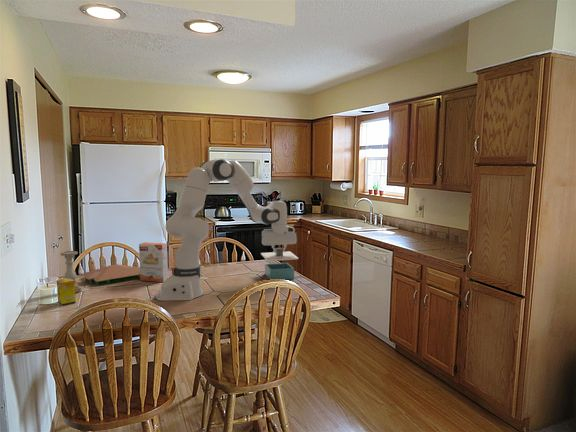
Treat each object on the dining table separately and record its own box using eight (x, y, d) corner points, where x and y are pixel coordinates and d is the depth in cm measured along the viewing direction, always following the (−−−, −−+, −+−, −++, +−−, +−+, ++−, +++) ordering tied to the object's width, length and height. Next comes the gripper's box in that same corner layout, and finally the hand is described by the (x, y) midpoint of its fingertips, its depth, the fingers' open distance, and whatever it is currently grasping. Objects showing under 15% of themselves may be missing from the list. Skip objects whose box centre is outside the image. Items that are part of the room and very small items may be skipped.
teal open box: (270, 280, 230) (270, 269, 230) (264, 274, 244) (264, 264, 243) (294, 278, 234) (294, 268, 233) (287, 272, 248) (287, 262, 247)
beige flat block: (79, 279, 232) (78, 265, 231) (137, 270, 253) (137, 257, 252) (91, 288, 215) (90, 273, 214) (152, 277, 236) (152, 263, 235)
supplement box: (57, 302, 191) (56, 279, 190) (71, 300, 195) (70, 277, 194) (61, 306, 187) (60, 282, 185) (75, 303, 191) (74, 280, 189)
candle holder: (59, 291, 208) (57, 252, 206) (78, 288, 214) (76, 249, 211) (63, 295, 201) (61, 255, 199) (83, 292, 207) (80, 252, 205)
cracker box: (139, 280, 228) (138, 243, 225) (145, 278, 234) (144, 241, 231) (163, 282, 225) (161, 244, 223) (168, 279, 231) (167, 242, 228)
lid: (267, 261, 227) (267, 252, 226) (260, 254, 244) (260, 246, 243) (298, 259, 232) (298, 250, 231) (289, 252, 249) (290, 244, 248)
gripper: (262, 230, 230) (262, 254, 232) (297, 228, 235) (297, 252, 237) (260, 228, 236) (260, 252, 238) (294, 227, 241) (294, 250, 243)
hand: (279, 252), depth 237 cm, fingers closed on lid, 3 cm apart
